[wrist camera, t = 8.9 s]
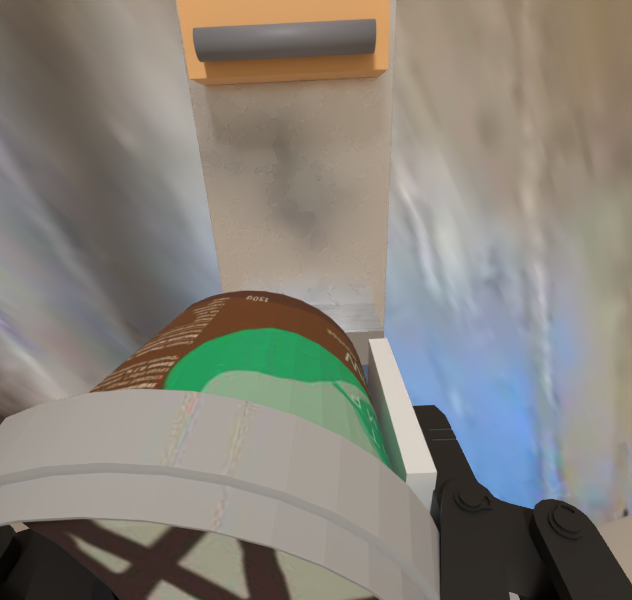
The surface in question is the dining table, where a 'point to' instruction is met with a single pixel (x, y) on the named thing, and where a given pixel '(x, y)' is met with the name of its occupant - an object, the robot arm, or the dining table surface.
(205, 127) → the vise
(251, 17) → the block
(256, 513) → the food container
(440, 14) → the dining table surface
